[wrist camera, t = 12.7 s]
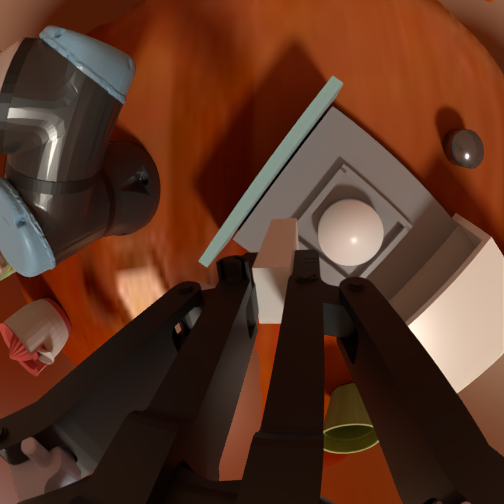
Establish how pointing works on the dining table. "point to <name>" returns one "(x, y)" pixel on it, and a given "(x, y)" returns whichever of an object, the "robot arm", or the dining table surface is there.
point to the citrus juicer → (36, 334)
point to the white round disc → (350, 232)
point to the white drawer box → (458, 304)
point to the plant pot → (347, 422)
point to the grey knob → (463, 148)
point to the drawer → (339, 187)
